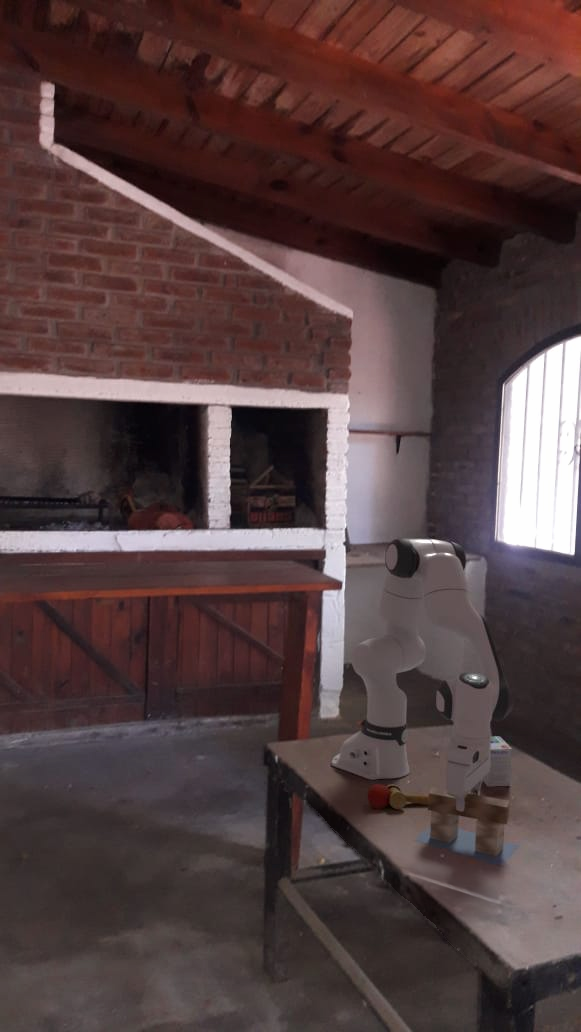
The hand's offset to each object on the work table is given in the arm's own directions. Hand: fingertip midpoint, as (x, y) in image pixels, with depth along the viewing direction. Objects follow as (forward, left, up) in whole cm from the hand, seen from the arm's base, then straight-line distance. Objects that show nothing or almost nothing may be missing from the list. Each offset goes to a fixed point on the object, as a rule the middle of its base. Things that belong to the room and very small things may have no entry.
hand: (468, 802), depth 194 cm
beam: (0, 0, -3) cm, 3 cm away
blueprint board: (0, 0, -10) cm, 10 cm away
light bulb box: (-8, +43, -10) cm, 45 cm away
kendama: (-21, +11, -11) cm, 26 cm away
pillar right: (+6, 0, -10) cm, 11 cm away
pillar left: (-5, 0, -10) cm, 11 cm away
